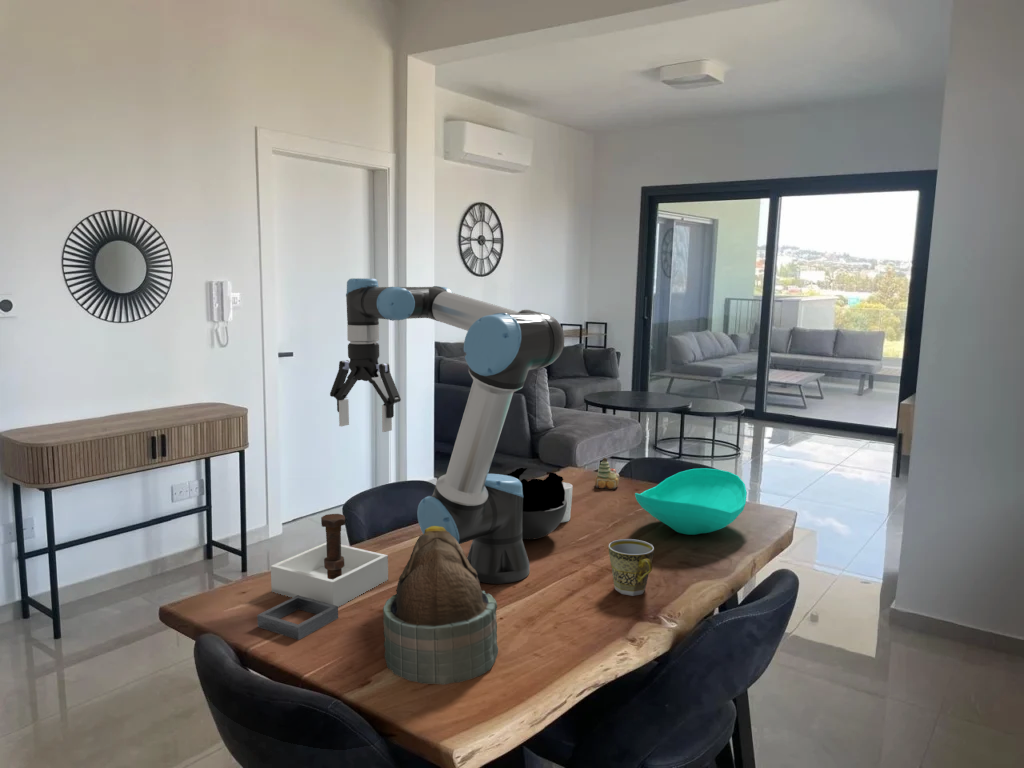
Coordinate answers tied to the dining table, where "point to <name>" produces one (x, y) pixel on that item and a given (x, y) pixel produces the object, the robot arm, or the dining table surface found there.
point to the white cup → (568, 499)
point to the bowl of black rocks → (541, 504)
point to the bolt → (333, 544)
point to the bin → (311, 577)
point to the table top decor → (696, 500)
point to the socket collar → (298, 631)
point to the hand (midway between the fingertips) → (365, 428)
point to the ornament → (606, 476)
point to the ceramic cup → (630, 565)
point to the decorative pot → (439, 616)
